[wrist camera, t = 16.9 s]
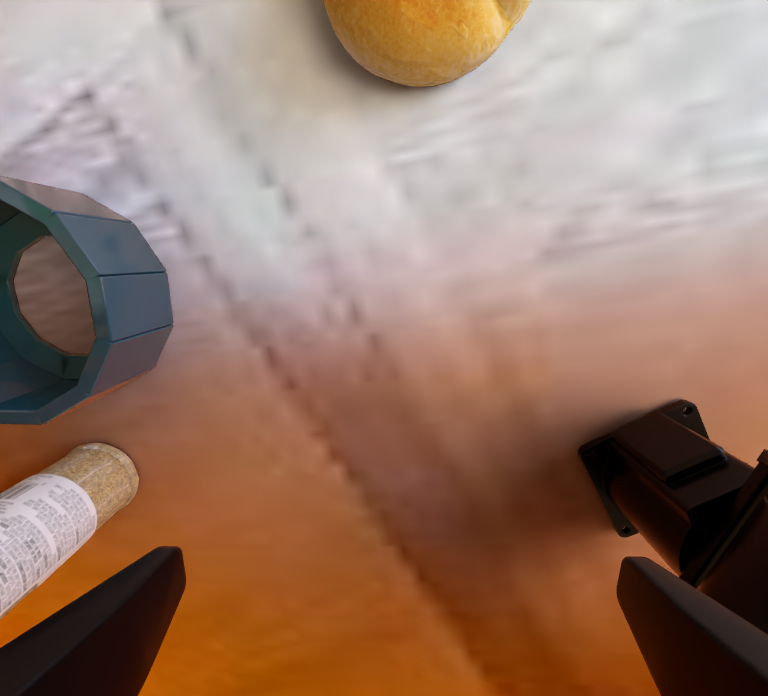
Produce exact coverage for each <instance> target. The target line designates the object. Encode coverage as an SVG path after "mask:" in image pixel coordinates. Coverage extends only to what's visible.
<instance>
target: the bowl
mask: <svg viewBox="0 0 768 696" xmlns="http://www.w3.org/2000/svg"><path fill="white" fill-rule="evenodd" d="M45 236H53V237H54V238H55V239H56V241H57V242H58V244H59V245H60V246H61V248H62V249H63V250H64V252H65V253H66V254H67V256H68V257H69V258H70V260H71V261H72V263H73V264H74V265H75V267H76V268H77V269H78V271H79V272H80V273H81V275H82V276H83V277H84V279H85V280H86V285H87V291H88V296H89V302H90V308H91V313H92V319H93V324H94V330H95V335H96V339H95V342H94V344H93V347H92V349H91V352H90V354H69V353H67V352H65V351H63V350H61V349H59V348H57V347H56V346H54V345H52V344H50V343H48V342H46V341H44V340H42V339H41V338H40V337H39V336H38V335H37V333H36V332H35V331H34V330H33V328H32V327H31V326H30V325H29V323H28V322H27V321H26V319H25V318H24V317H23V316H22V314H21V313H20V311H19V306H18V302H17V298H16V293H15V289H14V284H13V278H14V275H15V272H16V269H17V266H18V263H19V260H20V257H21V254H22V252H24V251H25V250H27V249H28V248H29V247H31V246H32V245H34V244H35V243H37V242H38V241H40V240H41V239H43V238H44V237H45ZM165 271H166V269H165V268H164V267H163V265H162V264H161V262H160V261H159V259H158V258H157V256H156V255H155V253H154V252H153V250H152V249H151V248H150V246H149V245H148V243H147V242H146V240H145V239H144V237H143V236H142V234H141V233H140V231H139V230H138V229H137V227H136V226H135V224H133V223H132V222H131V221H130V220H128V219H126V218H125V217H123V216H121V215H119V214H118V213H116V212H114V211H112V210H111V209H109V208H107V207H105V206H104V205H102V204H100V203H98V202H97V201H95V200H93V199H91V198H90V197H88V196H86V195H84V194H83V193H79V192H75V191H70V190H65V189H60V188H56V187H51V186H46V185H42V184H37V183H32V182H27V181H23V180H18V179H13V178H9V177H4V176H0V424H24V425H41V424H46V423H48V422H50V421H52V420H54V419H56V418H59V417H61V416H63V415H65V414H67V413H69V412H71V411H73V410H75V409H77V408H80V407H82V406H84V405H86V404H88V403H90V402H92V401H94V400H96V399H98V398H100V397H103V396H105V395H107V394H109V393H111V392H113V391H115V390H117V389H119V388H121V387H122V386H124V385H126V384H127V383H129V382H131V381H132V380H134V379H136V378H137V377H139V376H141V375H142V374H144V373H146V372H148V371H149V370H151V369H152V368H153V367H154V366H155V365H156V363H157V360H158V358H159V356H160V354H161V352H162V349H163V347H164V345H165V343H166V341H167V338H168V336H169V334H170V332H171V330H172V327H173V325H172V324H173V316H172V308H171V301H170V293H169V285H168V277H167V273H165Z"/></svg>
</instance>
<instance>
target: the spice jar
mask: <svg viewBox="0 0 768 696" xmlns="http://www.w3.org/2000/svg"><path fill="white" fill-rule="evenodd" d="M138 486H139V476H138V473H137V471H136V468H135V466H134V464H133V463H132V461H131V459H130V458H129V457H128V456H127V455H126V454H125V453H123V452H122V451H120V450H119V449H117V448H114V447H112V446H110V445H106V444H103V443H87V444H84V445H80V446H78V447H76V448H74V449H73V450H72V451H70V452H68V453H67V455H66V456H65V457H64V458H62V459H60V460H58V461H57V462H55V463H54V464H52V465H50V466H49V467H47V468H45V469H43V470H42V471H41V472H39V473H37V474H35V475H33V476H30V477H28V478H26V479H24V480H22V481H21V482H19V483H17V484H16V485H14V486H12V487H11V488H9V489H7V490H6V491H4V492H2V493H1V494H0V620H1V619H2V618H3V617H4V616H5V615H6V614H7V613H9V611H10V610H12V609H13V608H14V607H15V606H16V605H17V604H18V603H19V602H21V601H22V600H23V599H24V598H25V597H26V596H27V595H29V594H30V593H31V592H32V591H33V590H35V589H36V588H37V587H39V586H40V585H41V584H42V583H43V582H44V581H45V580H46V579H47V578H48V577H49V576H50V575H51V574H53V573H54V572H55V571H56V570H57V569H58V568H59V567H60V566H61V565H62V564H63V563H64V562H65V561H66V560H67V559H69V558H70V557H71V556H72V555H73V554H74V553H75V552H76V551H77V550H78V549H80V548H81V547H82V546H83V545H84V544H85V543H86V542H87V541H88V540H89V539H90V538H91V537H92V535H93V534H94V533H95V531H97V530H98V529H99V528H100V527H101V526H102V525H103V524H104V523H106V522H107V521H108V520H109V519H110V518H111V517H112V516H113V515H114V514H115V513H116V512H117V511H118V510H120V509H122V508H124V507H125V506H127V505H128V504H129V503H130V502H131V501H132V500H133V498H134V497H135V495H136V492H137V490H138Z"/></svg>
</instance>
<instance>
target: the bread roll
mask: <svg viewBox="0 0 768 696" xmlns="http://www.w3.org/2000/svg"><path fill="white" fill-rule="evenodd" d="M323 1H324V4H325V7H326V10H327V13H328V16H329V19H330V22H331V25H332V27H333V29H334V32H335V33H336V35H337V37H338V39H339V40H340V42H341V44H342V46H343V47H344V48H345V49H346V50H347V52H348V53H349V54H350V55H351V56H352V58H353V59H354V60H355V61H356V62H357V63H358V64H359V65H361V66H362V67H364V68H365V69H366V70H368V71H369V72H371V73H372V74H374V75H376V76H379V77H381V78H384V79H387V80H390V81H392V82H395V83H399V84H403V85H408V86H435V85H440V84H444V83H447V82H450V81H453V80H455V79H458V78H459V77H461V76H463V75H464V74H466V73H468V72H471V71H473V70H474V69H476V67H477V66H480V65H481V64H482V63H483V62H484V61H486V60H487V59H488V58H489V57H490V56H491V55H492V54H493V53H494V52H495V51H496V50H497V49H498V47H499V46H500V45H501V43H502V42H503V40H504V39H505V38H506V36H507V35H508V33H509V32H510V31H511V30H512V29H513V28H514V26H515V25H516V24H517V23H518V21H519V20H520V19H521V17H522V16H523V14H524V13H525V11H526V9H527V8H528V6H529V4H530V2H531V0H323Z"/></svg>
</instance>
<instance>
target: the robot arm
mask: <svg viewBox="0 0 768 696" xmlns="http://www.w3.org/2000/svg"><path fill="white" fill-rule="evenodd" d="M685 407H686V410H685V411H684V412H682V411H683V409H684V408H685ZM588 452H591V453H590V455H589V456H586V454H587V453H588ZM578 457H579V459H580V461H581V463H582V465H583V467H584V469H585V471H586V473H587V475H588V477H589V479H590V481H591V483H592V485H593V487H594V489H595V491H596V493H597V495H598V498H599V500H600V502H601V504H602V506H603V508H604V510H605V512H606V514H607V516H608V518H609V520H610V522H611V524H612V526H613V528H614V530H615V531H616V532H617V533H618V534H619V536H621V537H629V536H632V535H634V534H637V533H640V534H641V535H642V536H643V537H644V538H645V539H646V541H647V542H648V543H649V544H650V545H651V546H652V547H653V548H654V549H655V551H656V552H657V553H658V554H659V555H660V556H661V557H662V558H663V559H664V561H665V562H666V563H667V564H668V565H669V566H670V567H671V568H672V569H673V570H674V572H675V573H676V574H677V575H678V576H679V577H677V576H676V575H674V574H672V573H671V572H669V571H668V570H666V569H665V568H663V567H661V566H660V565H658V564H657V563H655V562H654V561H652V560H650V559H649V558H646V557H625V558H624V559H623V560H622V563H621V568H620V573H619V578H618V584H617V598H618V601H619V604H620V606H621V609H622V611H623V613H624V615H625V618H626V620H627V622H628V624H629V626H630V629H631V631H632V633H633V635H634V637H635V640H636V642H637V644H638V646H639V649H640V651H641V653H642V655H643V657H644V660H645V662H646V664H647V666H648V668H649V671H650V673H651V675H652V677H653V680H654V682H655V684H656V686H657V688H658V690H659V692H660V694H661V696H768V450H766V449H764V450H763V452H762V453H761V455H760V456H759V457H758V459H757V461H759V463H758V465H757V466H756V467H755V468H754V467H752V466H750V465H748V464H747V463H745V462H743V461H741V460H740V459H738V458H736V457H735V456H733V455H731V454H729V453H728V452H726V451H724V449H723V448H722V447H720V446H718V445H717V444H715V443H713V442H712V441H710V440H709V437H708V435H707V432H706V429H705V427H704V424H703V422H702V419H701V417H700V414H699V412H698V409H697V407H696V406H695V404H693V403H691V402H689V401H687V400H679V401H677V402H675V403H673V404H670V405H668V406H666V407H664V408H662V409H660V410H658V411H655V412H652V413H650V414H648V415H646V416H644V417H642V418H639V419H637V420H635V421H633V422H631V423H629V424H626V425H624V426H622V427H620V428H618V429H616V430H614V431H612V432H610V433H608V434H606V435H604V436H602V437H599V438H597V439H595V440H593V441H591V442H589V443H587V444H584V445H582V446H581V447H580V448H579V449H578ZM624 527H625V528H624ZM622 528H624V529H622ZM185 585H186V574H185V567H184V560H183V554H182V550H181V549H180V548H179V547H177V546H160V547H157V548H156V549H154V550H152V551H151V552H149V553H148V554H146V555H145V556H143V557H141V558H140V559H138V560H137V561H135V562H134V563H132V564H131V565H129V566H127V567H126V568H124V569H123V570H121V571H120V572H118V573H117V574H115V575H113V576H112V577H110V578H109V579H107V580H106V581H104V582H102V583H101V584H99V585H98V586H96V587H95V588H93V589H92V590H90V591H88V592H87V593H85V594H84V595H82V596H81V597H79V598H78V599H76V600H74V601H73V602H71V603H70V604H68V605H67V606H65V607H64V608H62V609H60V610H59V611H57V612H56V613H54V614H53V615H51V616H50V617H48V618H46V619H45V620H43V621H42V622H40V623H39V624H37V625H35V626H34V627H32V628H31V629H29V630H28V631H26V632H25V633H23V634H21V635H20V636H18V637H17V638H15V639H14V640H12V641H11V642H9V643H7V644H6V645H4V646H3V647H1V648H0V696H138V694H139V692H140V690H141V688H142V686H143V684H144V682H145V680H146V678H147V676H148V674H149V672H150V669H151V667H152V665H153V663H154V660H155V658H156V656H157V653H158V651H159V649H160V646H161V644H162V642H163V639H164V637H165V635H166V632H167V630H168V628H169V625H170V623H171V621H172V618H173V616H174V614H175V611H176V609H177V607H178V604H179V602H180V600H181V597H182V595H183V593H184V590H185Z"/></svg>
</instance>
